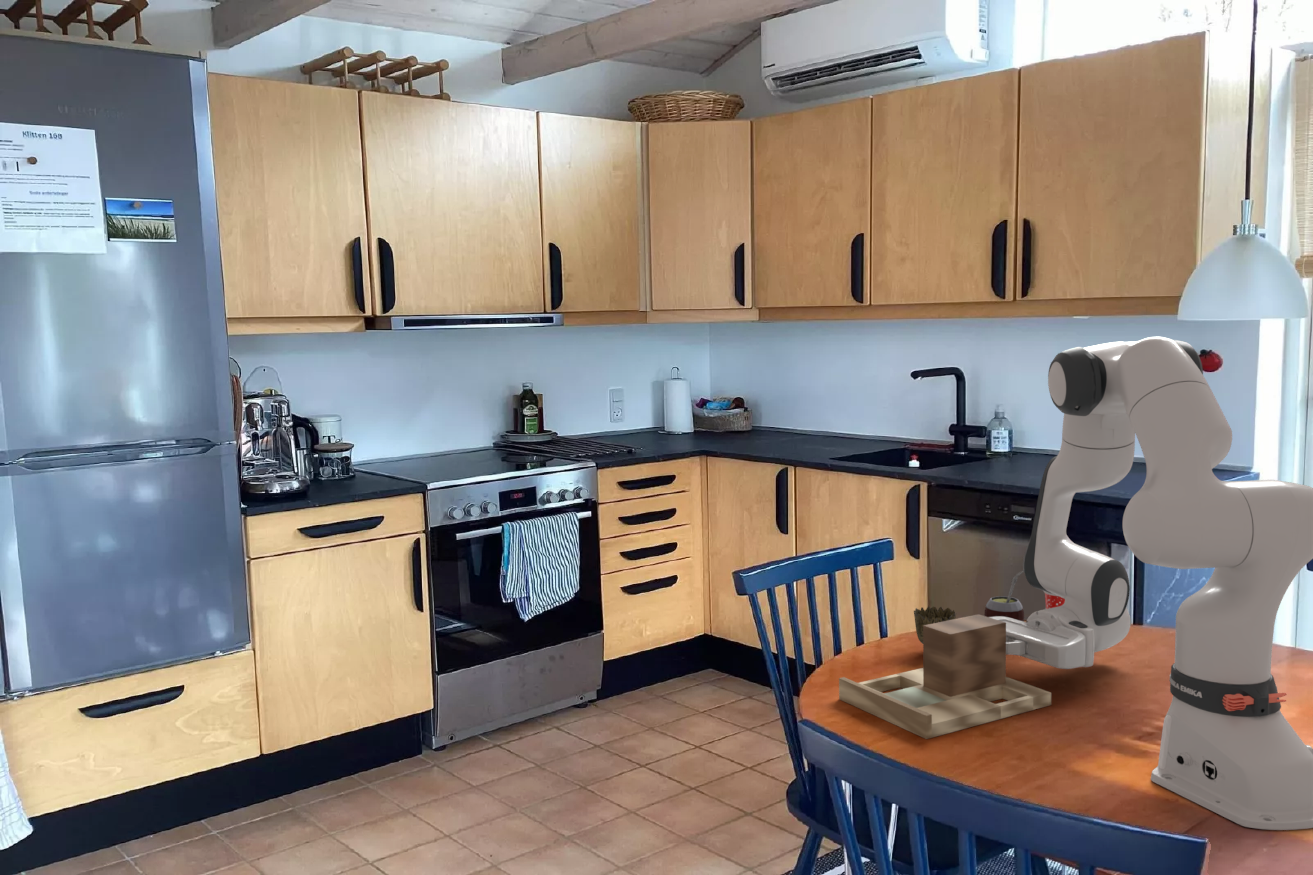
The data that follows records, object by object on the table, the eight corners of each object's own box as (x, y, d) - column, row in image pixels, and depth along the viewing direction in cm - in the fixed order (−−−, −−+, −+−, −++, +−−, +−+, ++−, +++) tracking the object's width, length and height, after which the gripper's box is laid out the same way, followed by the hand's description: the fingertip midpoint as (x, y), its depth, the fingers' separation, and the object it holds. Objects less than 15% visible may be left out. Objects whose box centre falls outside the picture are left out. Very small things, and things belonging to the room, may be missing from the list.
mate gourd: (988, 634, 206) (989, 557, 204) (1031, 638, 202) (1032, 561, 201) (980, 644, 199) (981, 565, 198) (1024, 649, 196) (1025, 569, 194)
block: (978, 673, 177) (978, 614, 176) (1005, 683, 172) (1006, 622, 171) (923, 686, 171) (923, 625, 170) (950, 696, 166) (950, 634, 165)
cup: (912, 647, 199) (912, 605, 198) (952, 648, 198) (952, 605, 197) (916, 659, 191) (916, 616, 190) (958, 660, 190) (958, 616, 189)
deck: (957, 671, 184) (957, 651, 184) (1051, 705, 167) (1051, 683, 167) (839, 699, 172) (839, 678, 172) (926, 739, 154) (926, 715, 154)
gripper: (1004, 604, 189) (946, 615, 183) (1102, 630, 171) (1041, 644, 165) (1004, 638, 190) (946, 651, 183) (1101, 669, 172) (1041, 684, 165)
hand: (992, 648), depth 174 cm, fingers closed
